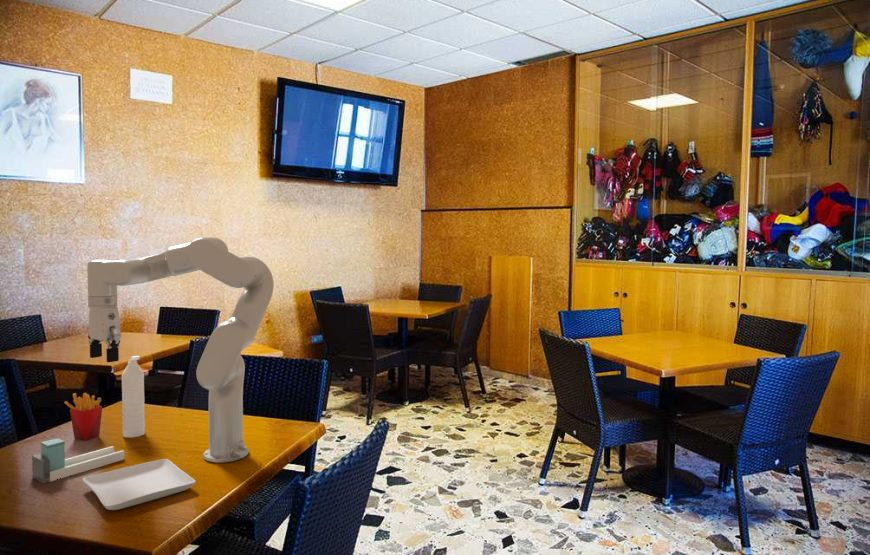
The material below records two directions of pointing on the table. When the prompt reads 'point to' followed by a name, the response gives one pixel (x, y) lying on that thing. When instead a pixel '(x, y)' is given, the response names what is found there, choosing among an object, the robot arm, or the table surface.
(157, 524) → the table surface
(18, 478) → the table surface
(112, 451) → the channel
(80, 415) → the french fries
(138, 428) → the water bottle
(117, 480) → the salad plate
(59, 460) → the block
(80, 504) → the table surface
